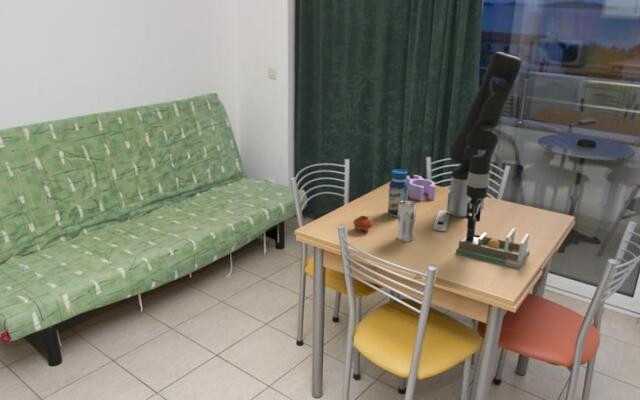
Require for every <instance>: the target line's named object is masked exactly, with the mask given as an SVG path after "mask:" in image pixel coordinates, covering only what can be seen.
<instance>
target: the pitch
mask: <svg viewBox="0 0 640 400" xmlns="http://www.w3.org/2000/svg"><path fill="white" fill-rule="evenodd" d="M516 230H517V229H516V227H512V229H511V230H510V231H509V232H508V234H507V235H506V237H505V239H500V238H496V237H491V236H487V237H486V243H485V244H484V246H482V245H478V244H473V243H469V242H465V241H463V240H459V241H458V247H457V248H456V249H455V250H456V252H455V254H458V255H463V256H466V257H470V258H474V259H479V260H483V261H487V262H491V263H494V264H499V265H503V266H507V267H511V268H514V269H520V268H521V267H522V265H523V263H524V262H525V260H526V258H527V256H528V255H529V253H530V247H529V248H528V246H529V245H528V244H529V238H530V233H526V234H524V236H523V237H522V239H521V241H520V242H515V235H516ZM481 235H482V234H477V233H475V234H474V237H477V238H479V237H480V236H481ZM491 239H496V240H498V241H499V247H498V248H497V249H495V248H491V247H489V246H488V242H489V241H490V240H491Z"/></svg>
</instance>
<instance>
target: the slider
mask: <svg viewBox="0 0 640 400" xmlns="http://www.w3.org/2000/svg"><path fill="white" fill-rule="evenodd" d="M476 224H477V218H476V217H475V219H474V228H473V229H469V228H467V227H466V229H467V230H466V236H465V237H464V238H463V239H462V241H465V242H469V243H473V244H478V245H482V246H484V244H485V243H486V237H488V235H487V234H488V233H487V232H483V233H482V234H480V235H481V236H480V237H479V238H477V237H474V234H476Z"/></svg>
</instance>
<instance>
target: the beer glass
mask: <svg viewBox="0 0 640 400" xmlns="http://www.w3.org/2000/svg"><path fill="white" fill-rule="evenodd" d="M416 215H417V203H416V202H415V201H412V200H407V201H401V202H399V208H398V217H397V221H398V235H397V239H398V240H399V241H400V242H404V243H405V242H411V241H413V240H414V237H413V230H414V225H415V221H416Z"/></svg>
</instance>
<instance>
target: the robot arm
mask: <svg viewBox="0 0 640 400" xmlns="http://www.w3.org/2000/svg"><path fill="white" fill-rule="evenodd" d="M521 67H522V60H521V58H519V57H517V56H515V55H511V54H507V53H505V52H502V51H501V52H500V51H496V52H494V53H493V55H492V57H491V58H490V60H489V63H488V65H487V68H486V71H485V72H484V76H483V78H482V81H481V84H480V86H479V88H478V91H477V92H476V93H477V94H476V95H475V96H474V100H473V102H472V103H471V106H470V107H469V110H468V113H467V115H466V117H465V119H464V122H463V124H462V126H461V128H460V129H459V132H458V133H457V134H456V136H455V138H454V140H453V142H452V144H451V146H450V149H449V158H450V160H451V161H452V162H453V163H456V164H457V163H458V164H459V163H460V164H459V165H458V166H457V167H455V168H453V169H452V170H451V171H452V172H451V177H450V188H449V189H450V191H449V192H448V193H447V202H446V203H447V205H446V212H447V211H448V212H449V213H448V214H449V215H451V216H454V217H457V218H459V217H462V218H464V217H465V219H466V220H467V224H466V226H467V227H466V229H467V228H469V229H473V228H474V219H475V217H476V218H477V221H476V223H479V222H480V221H481V215H482V214H481V213H482V211H483V209H484V200H485V199H486V198H487V197H488V191H489V183H490V182H489V181H490V167H491V166H490V165H491V161H492V157H493V154H494V151H495V149H496V147H497V145H498V142H499V136H498V134H497V132H495V131H492V129H495V128H497V127H498V125H499V123H500V122H499V121H500V119H501V115H502V112H503V110H504V107H505V105H506V101H508V97H509V95H510V93H511V91H512V89H513V87H514V84H515V82H516V80H517V78H518V75H519V73H520V70H521ZM493 78H495V79H498V80H501V81H505V82H504V84H503V85H502V87H501V88H500V89H498V90H497V91H496V92H494V93H493V84H492V83H493ZM479 151H484V153H483V154H479Z"/></svg>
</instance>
